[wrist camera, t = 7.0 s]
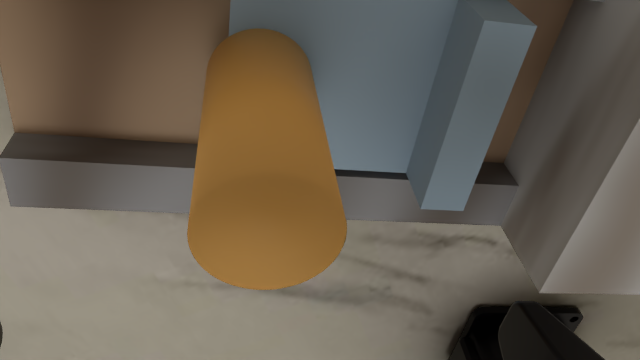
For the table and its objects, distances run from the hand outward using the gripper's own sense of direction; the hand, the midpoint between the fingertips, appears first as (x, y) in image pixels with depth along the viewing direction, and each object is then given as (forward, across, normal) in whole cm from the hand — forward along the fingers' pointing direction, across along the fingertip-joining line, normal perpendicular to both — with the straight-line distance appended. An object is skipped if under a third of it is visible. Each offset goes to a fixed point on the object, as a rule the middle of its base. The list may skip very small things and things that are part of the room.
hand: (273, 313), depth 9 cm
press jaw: (+10, -3, 0) cm, 11 cm away
